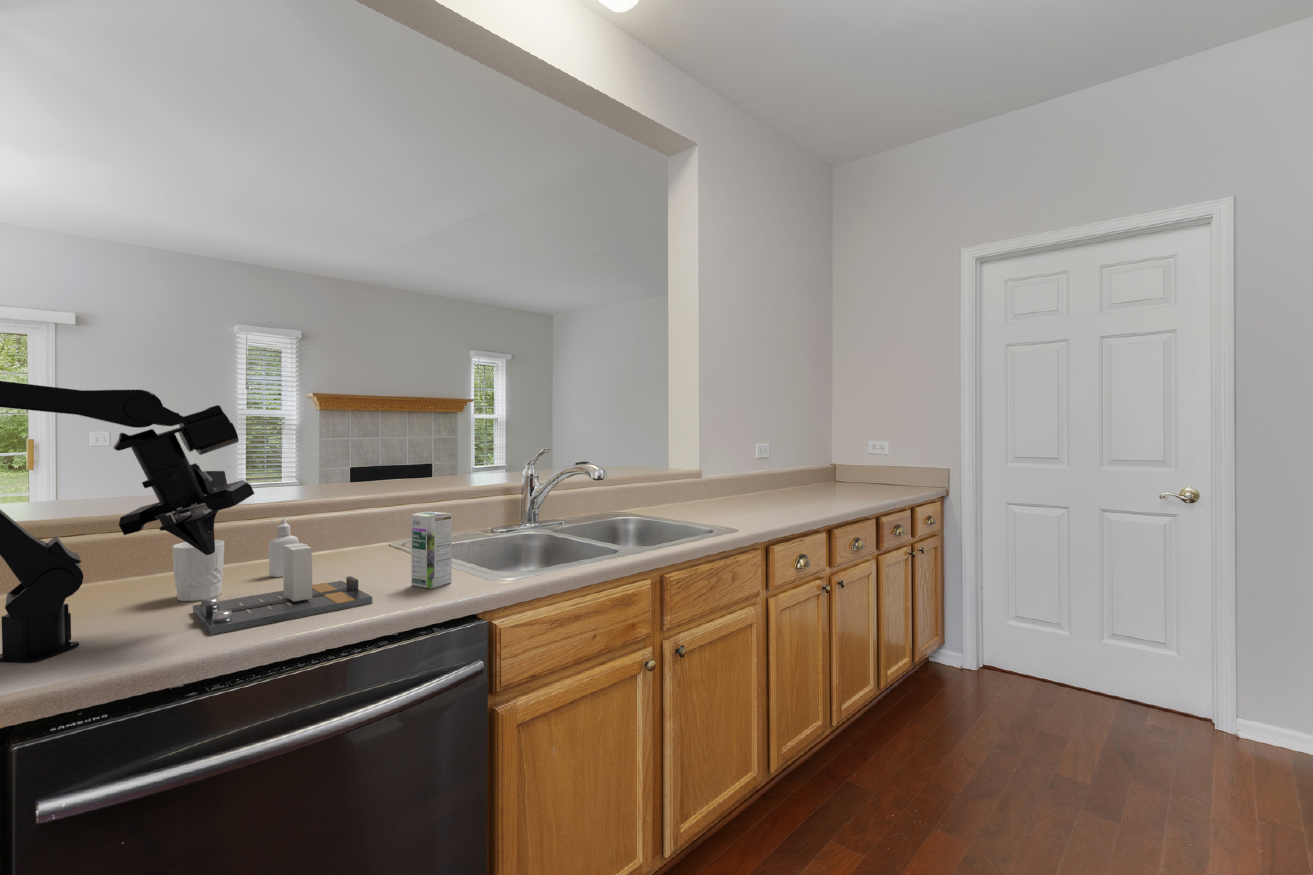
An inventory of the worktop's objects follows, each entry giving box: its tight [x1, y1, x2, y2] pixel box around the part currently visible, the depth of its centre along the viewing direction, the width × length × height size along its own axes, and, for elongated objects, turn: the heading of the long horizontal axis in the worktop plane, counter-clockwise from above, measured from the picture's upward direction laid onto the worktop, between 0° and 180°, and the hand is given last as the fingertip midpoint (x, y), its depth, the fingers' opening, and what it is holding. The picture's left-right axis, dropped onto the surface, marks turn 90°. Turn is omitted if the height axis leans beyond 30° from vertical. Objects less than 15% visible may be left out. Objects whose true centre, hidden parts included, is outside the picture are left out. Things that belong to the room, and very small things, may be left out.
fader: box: [283, 542, 313, 602], centre depth 110 cm, size 3×6×9 cm, turn 45°
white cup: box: [171, 539, 225, 602], centre depth 116 cm, size 8×8×10 cm
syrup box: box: [410, 511, 453, 590], centre depth 125 cm, size 6×6×14 cm
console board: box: [192, 576, 373, 636], centre depth 109 cm, size 24×16×3 cm
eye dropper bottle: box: [268, 518, 300, 578], centre depth 133 cm, size 4×6×12 cm
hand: (210, 553), depth 102 cm, fingers closed
